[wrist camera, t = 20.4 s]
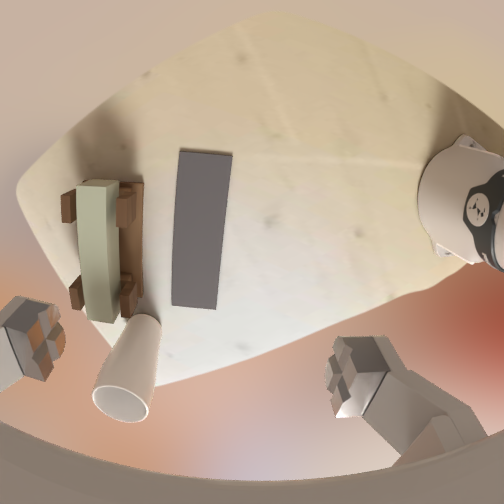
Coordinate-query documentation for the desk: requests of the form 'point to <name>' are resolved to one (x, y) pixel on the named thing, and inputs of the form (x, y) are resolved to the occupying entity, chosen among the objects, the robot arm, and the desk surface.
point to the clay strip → (99, 248)
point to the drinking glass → (130, 371)
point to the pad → (199, 228)
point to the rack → (129, 244)
